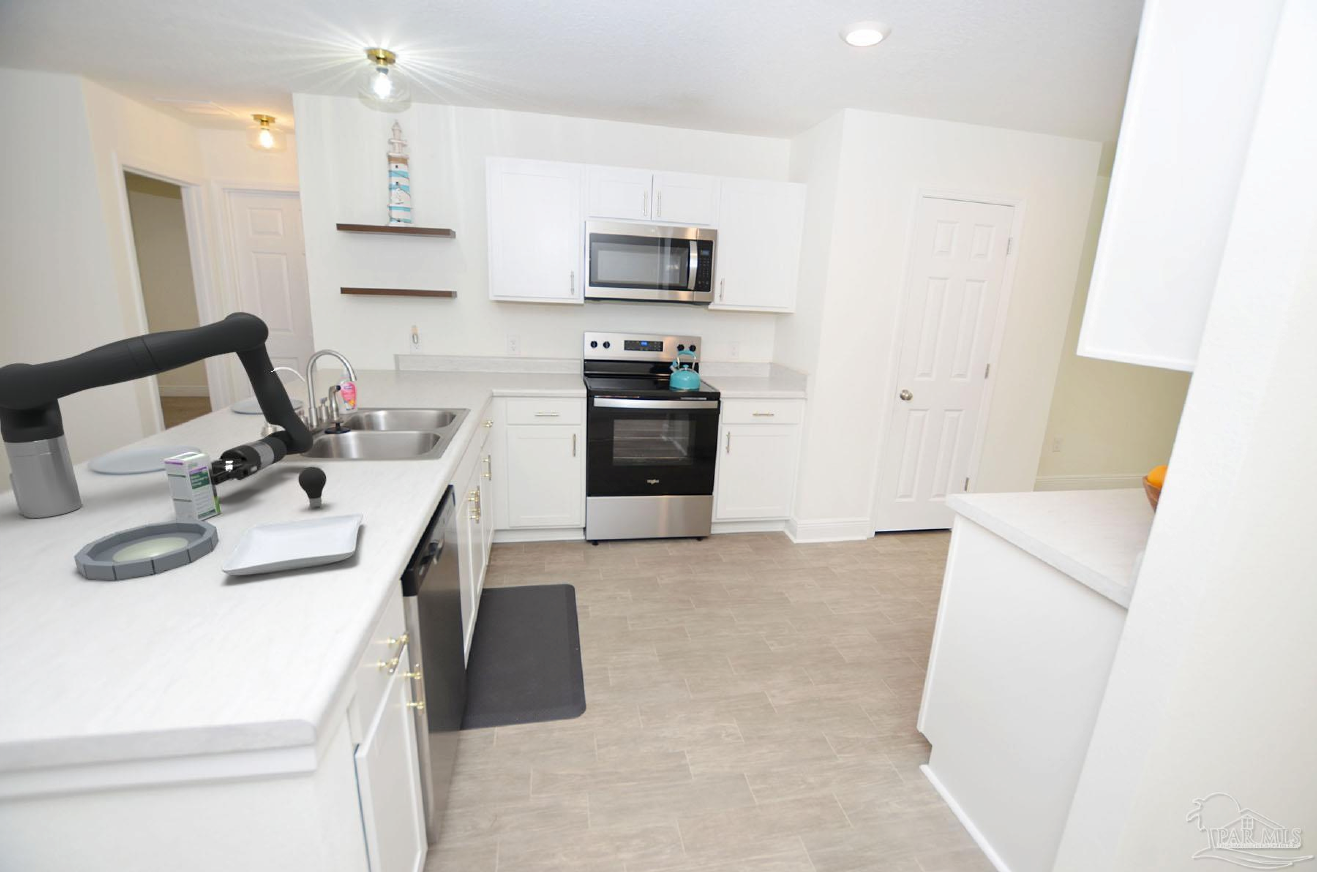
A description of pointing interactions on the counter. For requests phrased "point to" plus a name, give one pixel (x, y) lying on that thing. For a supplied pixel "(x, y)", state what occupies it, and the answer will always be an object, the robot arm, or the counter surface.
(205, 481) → the syrup box
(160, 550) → the round tray
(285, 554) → the salad plate
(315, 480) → the light bulb
